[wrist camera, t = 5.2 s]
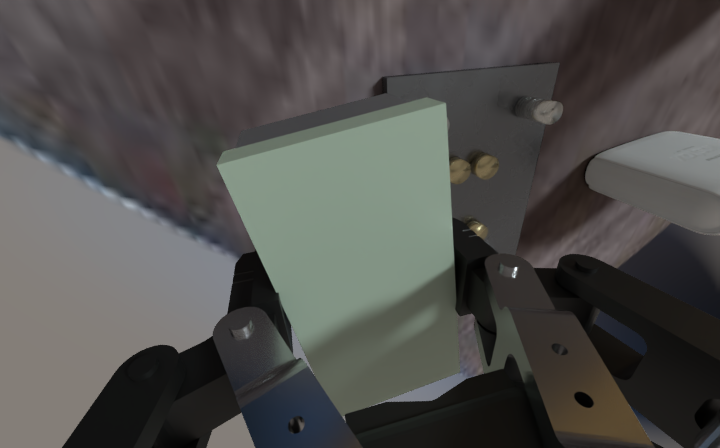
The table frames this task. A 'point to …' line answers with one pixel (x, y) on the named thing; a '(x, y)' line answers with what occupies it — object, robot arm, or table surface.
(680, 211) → the photo printer
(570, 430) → the robot arm
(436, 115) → the grey green block
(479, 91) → the plate
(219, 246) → the table surface
